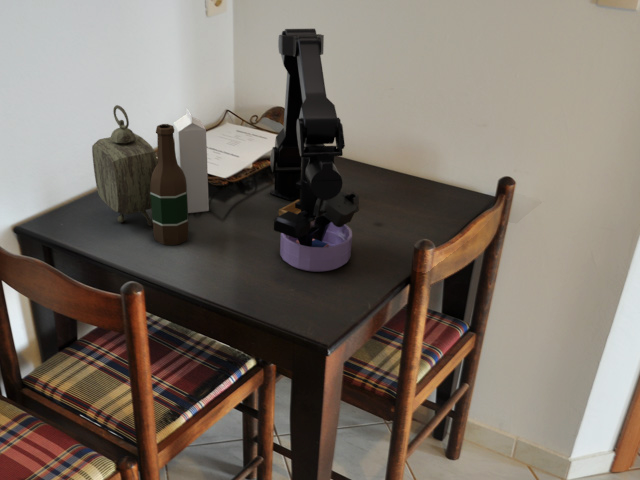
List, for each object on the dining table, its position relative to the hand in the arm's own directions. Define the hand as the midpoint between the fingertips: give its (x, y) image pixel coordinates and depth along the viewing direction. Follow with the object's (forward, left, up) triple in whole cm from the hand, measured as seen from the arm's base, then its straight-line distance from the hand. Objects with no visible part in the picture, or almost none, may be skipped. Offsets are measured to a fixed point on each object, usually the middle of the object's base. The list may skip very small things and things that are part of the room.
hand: (311, 251), depth 152 cm
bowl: (0, +1, -2) cm, 2 cm away
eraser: (0, 0, -1) cm, 1 cm away
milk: (-35, +2, -2) cm, 35 cm away
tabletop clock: (-41, -12, -2) cm, 43 cm away
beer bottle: (-28, -12, -2) cm, 30 cm away
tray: (-11, +13, -2) cm, 17 cm away
